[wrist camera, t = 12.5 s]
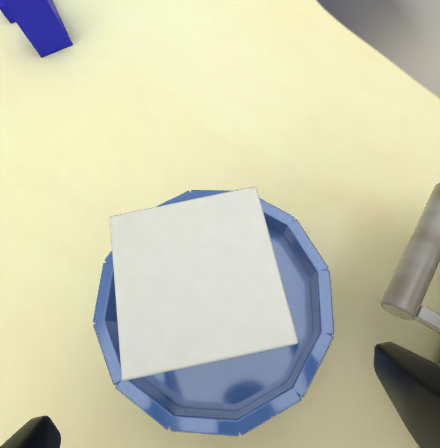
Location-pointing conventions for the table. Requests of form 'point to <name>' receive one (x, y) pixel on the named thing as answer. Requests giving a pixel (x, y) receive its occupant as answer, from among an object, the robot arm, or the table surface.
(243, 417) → the blue bowl
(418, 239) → the drawer
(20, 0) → the blue stepped block
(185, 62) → the table surface
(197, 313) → the white block
